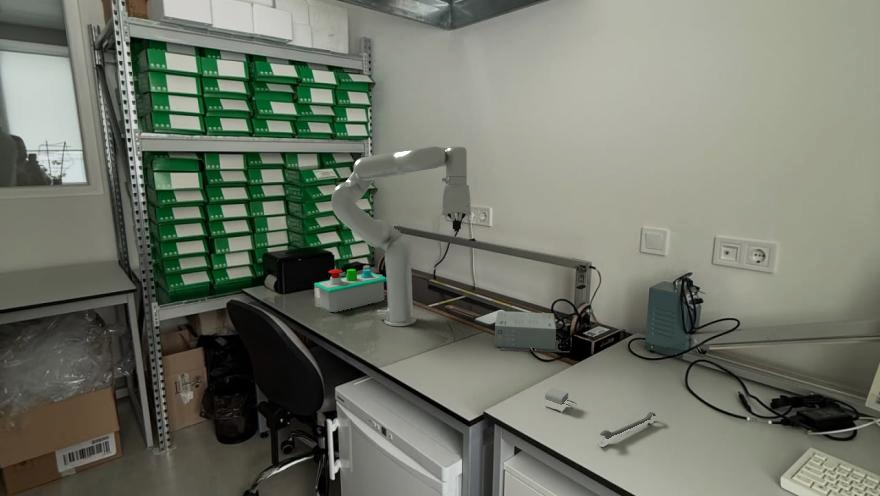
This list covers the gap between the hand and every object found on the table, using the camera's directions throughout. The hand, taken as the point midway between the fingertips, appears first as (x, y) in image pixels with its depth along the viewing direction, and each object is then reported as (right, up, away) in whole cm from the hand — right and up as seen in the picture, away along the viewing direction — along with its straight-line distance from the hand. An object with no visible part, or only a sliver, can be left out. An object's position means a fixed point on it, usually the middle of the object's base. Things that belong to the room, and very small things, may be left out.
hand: (456, 231), depth 173 cm
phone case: (+15, -35, +8) cm, 39 cm away
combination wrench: (+36, -49, -67) cm, 91 cm away
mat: (+26, -38, -13) cm, 47 cm away
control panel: (-44, -31, +30) cm, 62 cm away
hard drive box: (+13, -34, -12) cm, 38 cm away
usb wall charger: (+24, -47, -56) cm, 77 cm away
